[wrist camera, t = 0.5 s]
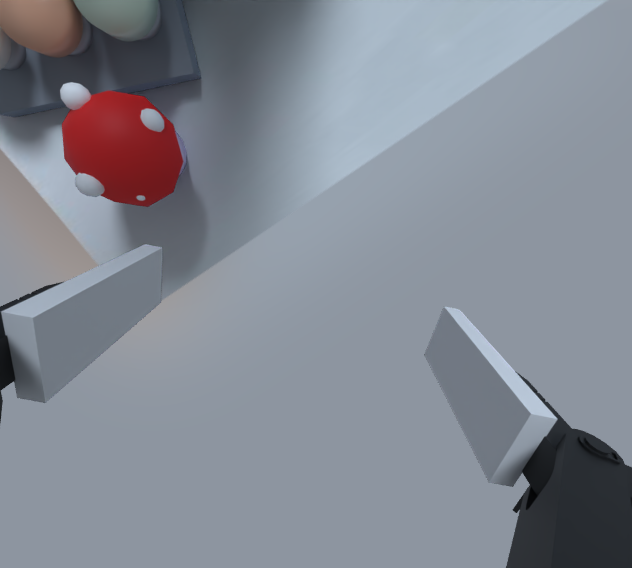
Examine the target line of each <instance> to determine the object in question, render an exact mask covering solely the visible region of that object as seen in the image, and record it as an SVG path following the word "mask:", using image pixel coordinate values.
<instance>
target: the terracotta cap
mask: <svg viewBox="0 0 632 568" xmlns="http://www.w3.org/2000/svg"><path fill="white" fill-rule="evenodd" d="M0 27H1V28H2V29H3V31H4V32H5V33H6V34H7V35H8V36H9V37H10V38H11V39H13V40H14V41H15V42H17V43H18V44H20V45H22V46H24V47H26V48H29V49H31V50H34V51H36V52H39V53H41V54H44V55H46V56H49V57H56V58H59V57H65V56H67V55H69V54H71V53H72V52H73V51H74V50H75V49H76V48H77V47H78V45H79V43H80V41H81V38H82V33H83V19H82V14H81V12H80V11H79V9H78V8H77V6H76V5H75V3H74V1H73V0H0Z"/></svg>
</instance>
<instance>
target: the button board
mask: <svg viewBox="0 0 632 568" xmlns="http://www.w3.org/2000/svg"><path fill="white" fill-rule="evenodd" d="M82 19H83V33H82V38H81V41H80V43H79V45H78V47H77V48H76V49H75V50H74V51H73V52H72V53H71V54H69V55H67V56H65V57H59V58H56V57H49V56H46V55H44V54H41V53H39V52H36V51H34V50H31V49H29V48H26V47H24V46H22V45H20V44H18V43H17V42H15V41H14V40H13V39H11V55H10V58H9V60H8V62H7V64H6V65H5V66H4V67H3V68H2V69H1V70H0V115H4V116H11V117H17V116H22V115H27V114H32V113H36V112H41V111H46V110H51V109H56V108H60V107H65V106H66V105H65V104H64V102H63V101H62V99H61V95H60V89H61V88H62V86H63V84H66V83H70V82H73V83H78V84H81V85H82V86H84V87H85V88H86V89H88V91H89V92H90V94H91V95H94V94H97V93H101V92H105V91H108V90H110V91H115V92H121V93H127V94H128V93H132V92H137V91H142V90H147V89H152V88H156V87H161V86H166V85H171V84H176V83H180V82H185V81H190V80H195V79H200V78H201V75H200V71H199V67H198V63H197V59H196V55H195V51H194V47H193V43H192V39H191V35H190V31H189V27H188V23H187V19H186V15H185V11H184V7H183V3H182V0H158V12H157V17H156V21H155V24H154V26H153V28H152V29H151V30H150V32H149V33H148V34H147V35H146V36H144V37H143V38H141V39H139V40H136V41H131V42H130V41H121V40H119V39H116V38H114V37H112V36H110V35H109V34H107V33H106V32H104V31H102V30H101V29H99V28H97V27H96V26H94V25H93V24H91V23H90V22H89V21H88V20H87V19H86V18H85V17H84V16H83V15H82Z"/></svg>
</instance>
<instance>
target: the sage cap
mask: <svg viewBox="0 0 632 568" xmlns="http://www.w3.org/2000/svg"><path fill="white" fill-rule="evenodd" d="M73 1H74V3H75V5H76V6H77V8H78V9H79V11H80V12H81V14H82V15H83V16H84V17H85V18H86V19H87V20H88V21H89V22H90V23H91V24H93V25H94V26H96V27H97V28H99V29H101V30H102V31H104V32H106V33H107V34H109V35H110V36H112V37H114V38H116V39H119V40H121V41H130V42H131V41H136V40H139V39H141V38H143V37H144V36H146V35H147V34H148V33H149V32H150V30H151V29H152V28H153V26H154V24H155V21H156V17H157V12H158V0H73Z"/></svg>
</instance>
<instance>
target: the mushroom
mask: <svg viewBox="0 0 632 568" xmlns="http://www.w3.org/2000/svg"><path fill="white" fill-rule="evenodd" d="M60 95H61V99H62V101H63V102H64V104H65V105H66V106H67V107H68V108H70V109H71V110H70V111H69V113H68V115H67V116H66V118H65V120H64V121H63V123H62V134H63V146H64V158H65V160H66V162H67V163H68V164H69V166H70V167H71V168H72V170H73V171H74V172H75V174H76V175H77V176H76V177H75V185H76V187H77V188H78V190H79V191H80V192H81V193H83V194H85V195H87V196H93V197H97V196H99V195H101V196H103V197H105V198H107V199H110V200H112V201H114V202H119V203H126V204H132V205H139V206H145V207H148V206H150V205H152V204H154V203H155V202H157V201H159V200H160V199H162V198H164V197H166V196H167V195H169V194H171V193H173V191H174V188H175V185H176V182H177V179H178V176H179V175H180V174H181V173H182V172H183V169H184V167H185V165H186V156H187V152H186V149H185V146H184V143H183V141H182V139H181V138H180V136H179V135H178V134H177V132H176V131H175V129H174V126H173V124H172V123H171V122H170V121H169V120H168V119H167V118H166V117H165V116H164V115H163V114H162V113H161V112H160V111H159V110H158V109H157V108H156V107H155V106H154V105H153V104H152V103H150V102H149V101H148V100H147V99H146V98H145V97H144V96H138V95H132V94H127V93H121V92H115V91H110V90H108V91H105V92H101V93H97V94H94V95H91V94H90V92H89V91H88V89H86V88H85V87H84V86H82V85H81V84H78V83H73V82H70V83H66V84H63V86H62V88H61V89H60Z"/></svg>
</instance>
